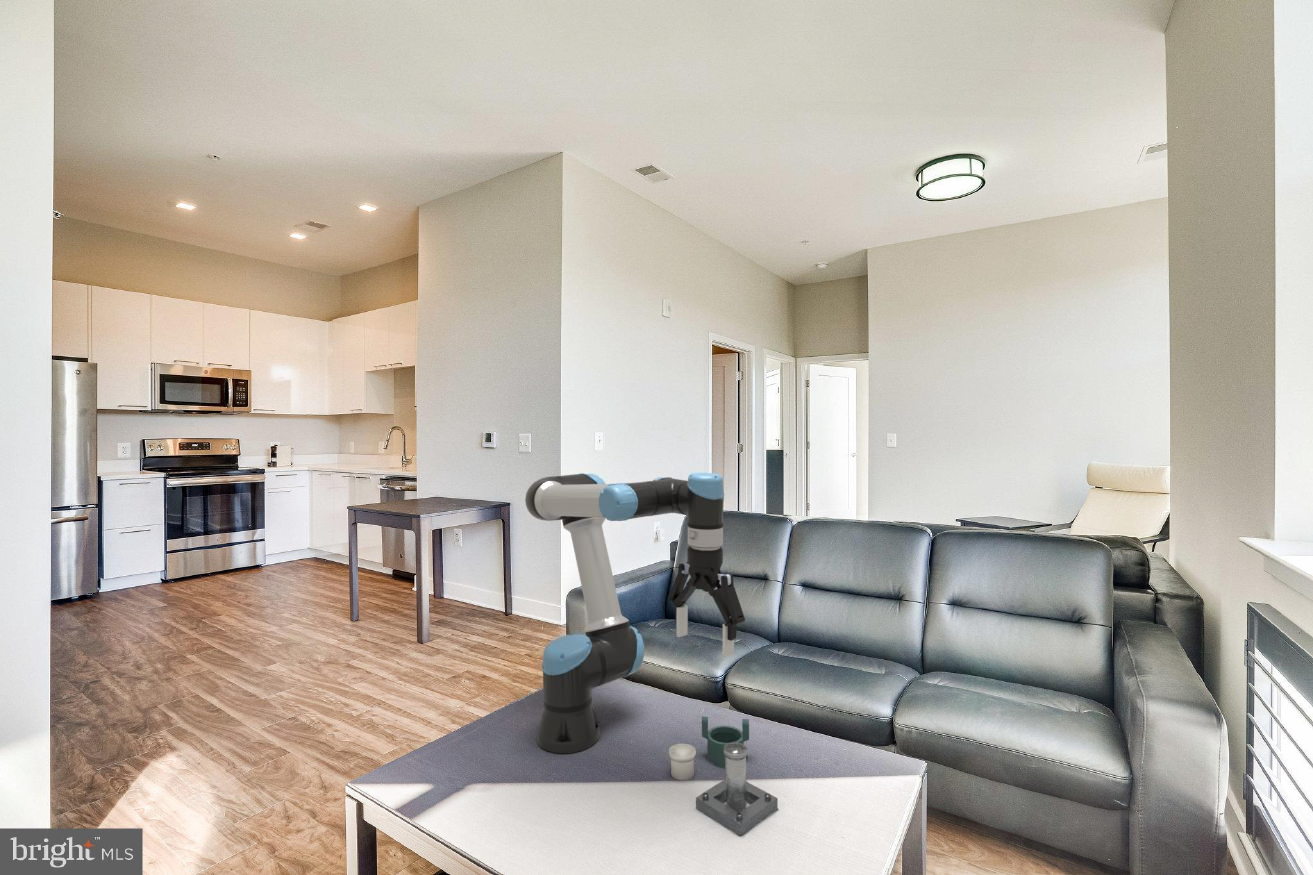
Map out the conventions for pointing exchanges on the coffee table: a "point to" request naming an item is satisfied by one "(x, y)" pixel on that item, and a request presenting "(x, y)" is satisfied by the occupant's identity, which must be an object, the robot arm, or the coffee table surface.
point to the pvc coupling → (682, 761)
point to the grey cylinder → (735, 775)
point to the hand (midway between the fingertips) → (704, 644)
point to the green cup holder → (723, 739)
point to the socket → (730, 818)
